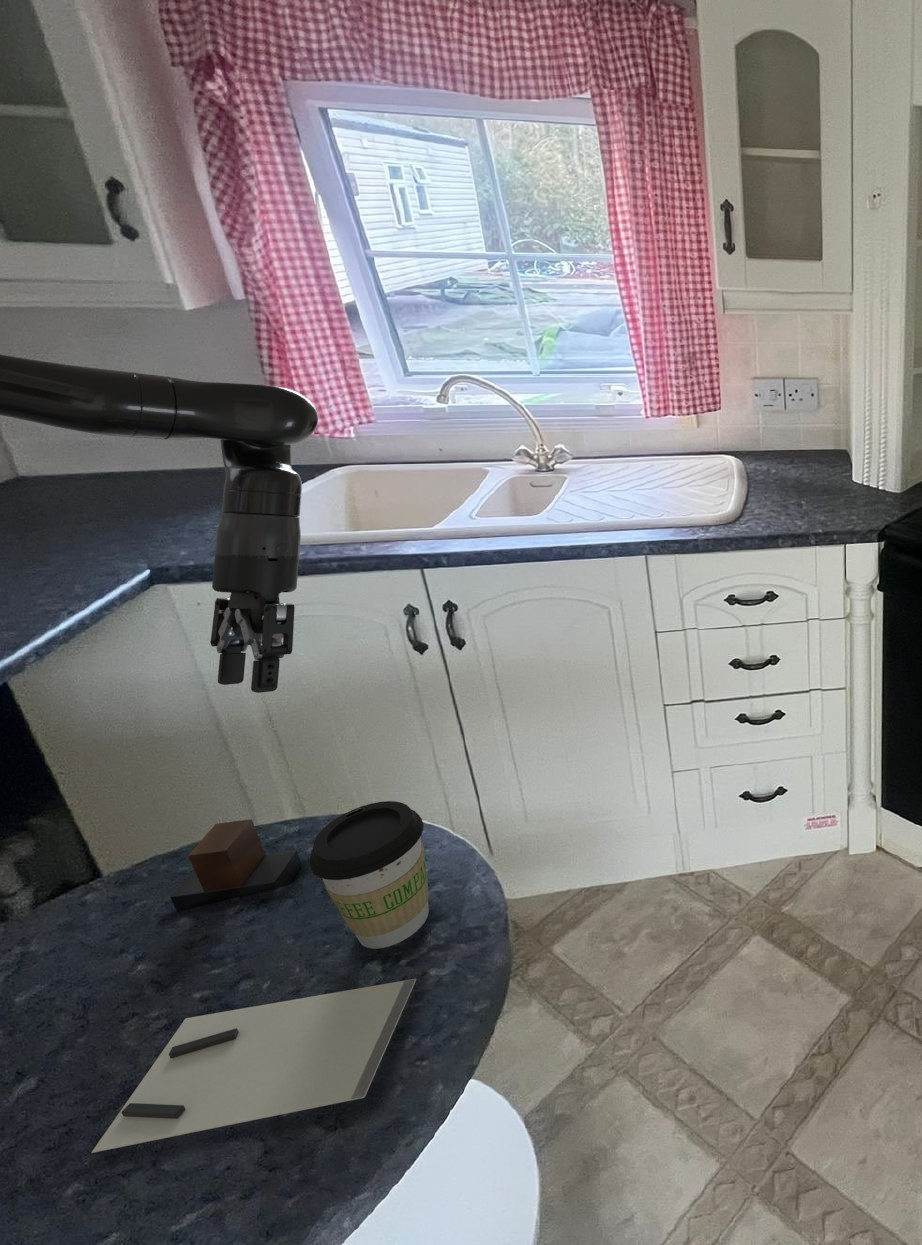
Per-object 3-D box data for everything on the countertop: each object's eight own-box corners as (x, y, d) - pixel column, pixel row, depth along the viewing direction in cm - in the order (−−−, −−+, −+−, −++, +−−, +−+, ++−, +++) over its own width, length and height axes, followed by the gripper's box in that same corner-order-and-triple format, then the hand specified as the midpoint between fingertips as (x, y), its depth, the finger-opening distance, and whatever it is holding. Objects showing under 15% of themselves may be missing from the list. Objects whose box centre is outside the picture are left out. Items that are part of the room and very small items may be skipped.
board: (97, 1163, 65) (90, 1153, 64) (190, 1028, 76) (185, 1018, 75) (368, 1108, 70) (364, 1097, 69) (419, 988, 81) (416, 978, 80)
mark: (170, 1058, 72) (168, 1054, 71) (174, 1051, 72) (172, 1046, 72) (236, 1039, 74) (234, 1035, 73) (239, 1031, 74) (237, 1027, 74)
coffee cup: (357, 989, 80) (317, 882, 75) (332, 934, 86) (293, 830, 80) (461, 930, 87) (433, 827, 82) (432, 882, 93) (403, 784, 87)
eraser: (177, 913, 88) (152, 860, 85) (205, 879, 92) (182, 827, 89) (280, 898, 90) (259, 845, 87) (302, 865, 95) (283, 814, 92)
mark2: (123, 1116, 67) (120, 1112, 67) (132, 1106, 68) (129, 1102, 68) (177, 1119, 67) (175, 1114, 67) (186, 1109, 68) (184, 1104, 68)
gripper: (190, 550, 92) (178, 685, 91) (246, 553, 86) (233, 698, 85) (268, 552, 99) (258, 678, 98) (325, 554, 92) (315, 690, 92)
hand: (246, 687), depth 91 cm, fingers open, 8 cm apart
